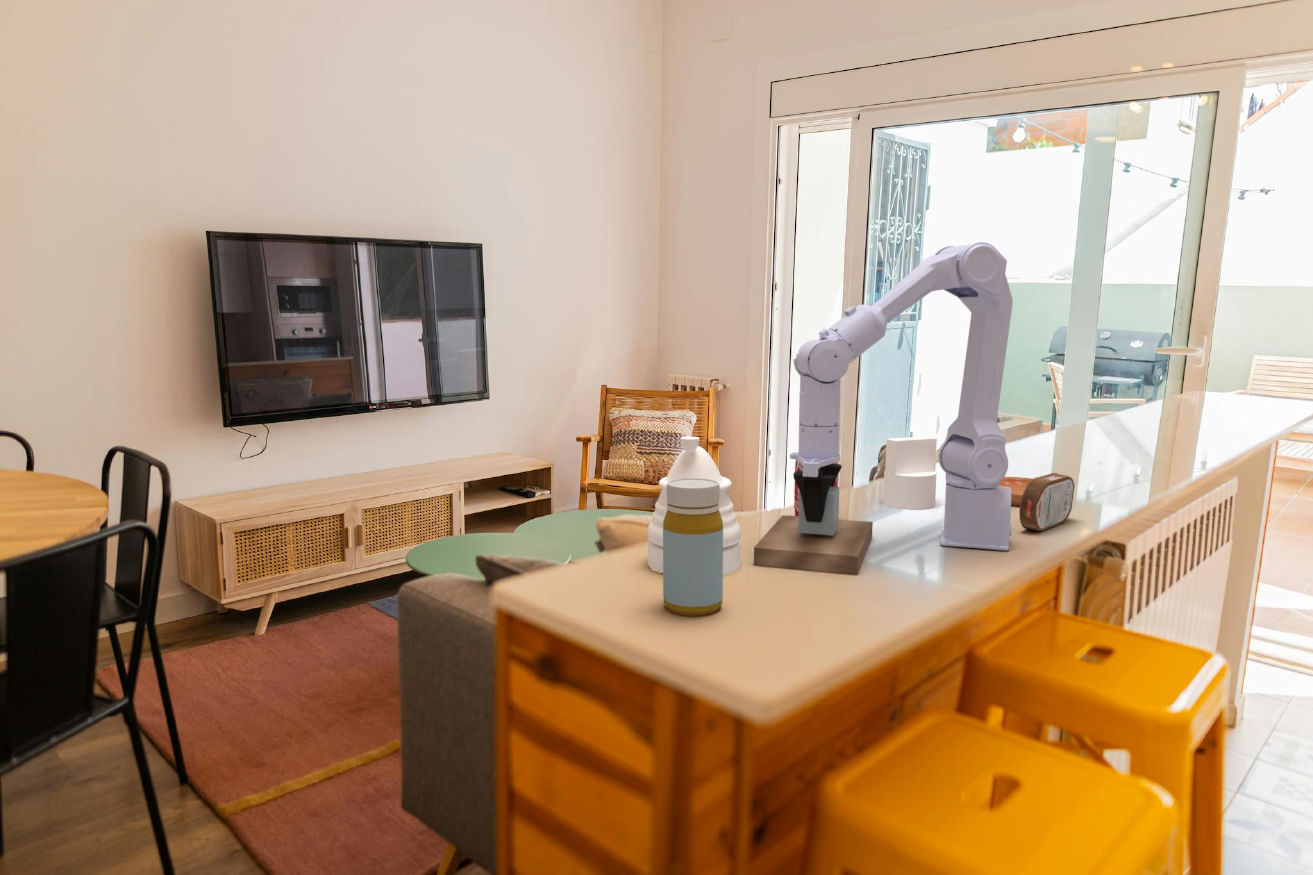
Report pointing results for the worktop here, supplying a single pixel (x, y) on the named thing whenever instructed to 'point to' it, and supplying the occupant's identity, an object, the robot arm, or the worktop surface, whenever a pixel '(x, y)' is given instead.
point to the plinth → (814, 547)
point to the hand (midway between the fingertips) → (817, 517)
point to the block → (829, 517)
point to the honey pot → (702, 466)
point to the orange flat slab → (1015, 487)
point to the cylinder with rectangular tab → (910, 473)
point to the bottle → (693, 547)
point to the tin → (1046, 502)
